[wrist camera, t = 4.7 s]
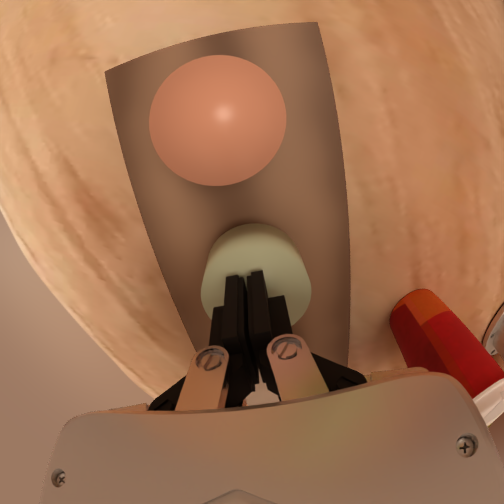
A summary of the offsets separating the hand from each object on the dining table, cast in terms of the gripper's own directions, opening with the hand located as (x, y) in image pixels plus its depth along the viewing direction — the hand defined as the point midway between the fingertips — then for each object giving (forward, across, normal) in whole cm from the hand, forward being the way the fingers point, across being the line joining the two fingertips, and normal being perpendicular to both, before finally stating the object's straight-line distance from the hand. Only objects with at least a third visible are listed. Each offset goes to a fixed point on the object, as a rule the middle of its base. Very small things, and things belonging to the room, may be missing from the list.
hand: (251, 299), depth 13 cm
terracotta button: (+3, 0, -8) cm, 8 cm away
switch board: (+8, 0, 0) cm, 8 cm away
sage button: (+3, 0, 0) cm, 3 cm away
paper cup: (+8, -14, +11) cm, 20 cm away
